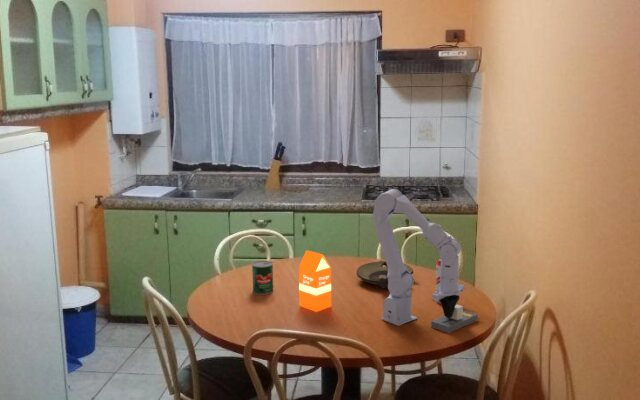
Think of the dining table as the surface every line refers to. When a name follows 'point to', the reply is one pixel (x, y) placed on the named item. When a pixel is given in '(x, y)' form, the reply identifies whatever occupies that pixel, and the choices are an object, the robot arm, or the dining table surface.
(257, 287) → the canned tomato
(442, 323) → the fader deck
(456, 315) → the fader knob
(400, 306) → the robot arm
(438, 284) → the beer can
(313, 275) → the orange juice
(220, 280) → the dining table surface
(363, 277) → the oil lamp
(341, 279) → the dining table surface
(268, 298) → the dining table surface
